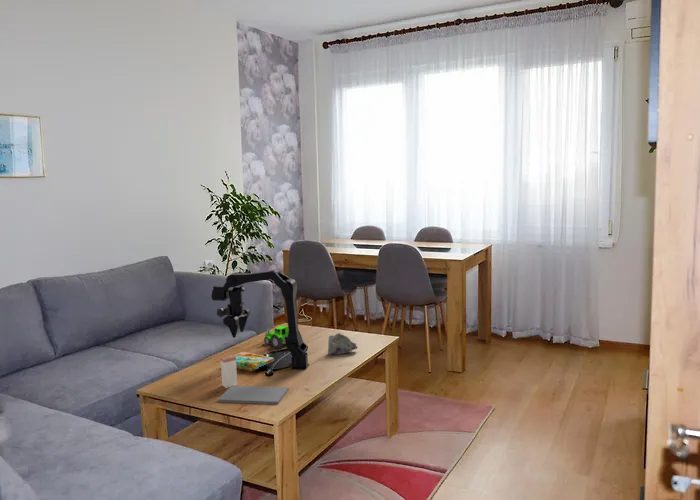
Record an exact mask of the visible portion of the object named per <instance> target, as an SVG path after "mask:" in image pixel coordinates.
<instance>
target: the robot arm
mask: <svg viewBox="0 0 700 500" xmlns="http://www.w3.org/2000/svg"><path fill="white" fill-rule="evenodd" d="M225 280H226V281H225V283H224V285H214V286H213V287H212V288H213V290H212V291H211V300H212V301H213V302H226V301H228V300H229V302H228V304H227V306H225V307H220V308H217V311H216V316H218V317H219V318H222V317H223V319H222V324H223V325H224V326H226V327H228V328H229V331H230V333H231V336H232V338H234V339H235V338H236V337H237V335H238V330H239V331H240V333H243V332H244V330H245V327H246V324H247V322H248V320H249V317H250V315H251V310H250V309H249V308H248V307H244V305H245V301H243V292H245V291H246V290H247V288H246V287H244V284H246V283H254V282H262V281H269V280H271V281H272V282H273V283H274V284H275V285H276V286H277V287H278V288H279V289H280V291H281V295H282V297H283V299H284V301H285V310H286V319H287V326H288V330H289V333H288V334H287V335H286V336H285V342H286V343H285V346H284V347H286V349H287V350H288V351H289V352H290V354H291V356H292V357H290V358H291V360H290V361H291V364H290V365H291V370H307V369H308V367H309V365H310V363H309V361H308V359H309V358H308V352H307V351H308V349H309V346H308V345H307V344H306V343H305V342H304V339H303V336H302V334H301V332H300V330H299V322H298V314H297V313H298V312H297V303H296V297H297V294H298V293H297V292H298V281H296V280H295V279H294V278H290V277H289V276H287V275H286V274H284V273H282V272H280V271H279V270H278V269H271V270H265V271H263V270H262V271H256V272H249V273H248V272H241V271H240V272H238V271H236V272H232V273H231V274H229V275H227V277H226V279H225ZM224 316H225V317H224Z"/></svg>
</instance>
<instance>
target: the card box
mask: <svg viewBox="0 0 700 500" xmlns="http://www.w3.org/2000/svg"><path fill="white" fill-rule="evenodd" d="M233 355H234V354H230V355H226V356H220V357H219V358H220V370H221V371H220V372H221V385H222V386H223V387H224V388H225V389H229V388H230V387H231V386H239V385H238V372H237V371H238V370H237V368H236V357H235V356H233Z"/></svg>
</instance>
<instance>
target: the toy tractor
mask: <svg viewBox="0 0 700 500" xmlns="http://www.w3.org/2000/svg"><path fill="white" fill-rule="evenodd" d="M269 328H270V327H269V325H267V330H266V332H265V335H264V339H263V340H264V343H265V345H267V346H269V345H271V347H272V348H274V349H276V350H278V349H280V348H282V347H283V344H284V343H285V344H286V342H285V336H286V335H287V334H288V333H289V330H288V325H287V326H286V325H279V326H276V327H275V326H274V331H271V330H270V329H269Z"/></svg>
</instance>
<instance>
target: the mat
mask: <svg viewBox="0 0 700 500" xmlns="http://www.w3.org/2000/svg"><path fill="white" fill-rule="evenodd" d="M288 391H289V386H288V387H287V386H286V387H283V386H256V385H254V386H253V385H252V386H251V385H250V386H249V385H236V386H231V387H228V388H227V390H226V391H225V392H223V394H222V395H220V396H219V398H218V399H217V402H218V403H232V404H233V403H234V404H235V403H237V404H263V405H264V404H266V405H268V404H269V405H279V404H280V402H282V400H283V398H284V397H285V395H286V394H287V393H288Z"/></svg>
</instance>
